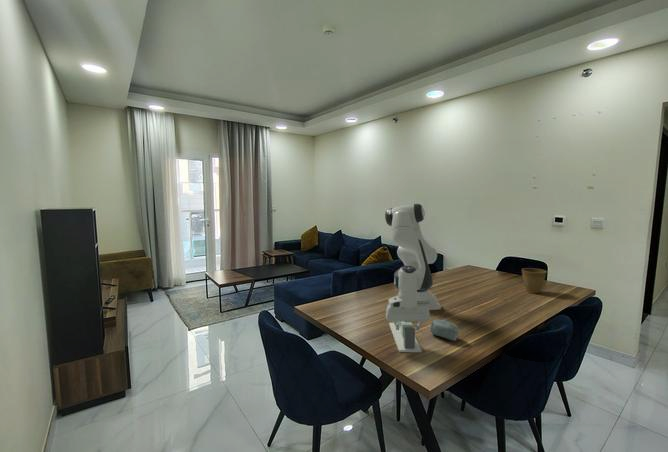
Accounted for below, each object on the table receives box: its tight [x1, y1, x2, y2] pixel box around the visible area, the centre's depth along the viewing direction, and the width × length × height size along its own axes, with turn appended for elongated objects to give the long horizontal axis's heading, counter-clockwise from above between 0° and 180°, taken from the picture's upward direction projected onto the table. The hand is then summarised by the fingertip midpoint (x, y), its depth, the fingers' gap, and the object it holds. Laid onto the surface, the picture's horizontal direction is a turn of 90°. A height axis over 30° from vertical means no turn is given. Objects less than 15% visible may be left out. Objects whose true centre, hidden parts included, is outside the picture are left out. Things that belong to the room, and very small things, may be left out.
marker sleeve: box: [401, 321, 415, 338], centre depth 148 cm, size 5×5×5 cm
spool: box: [430, 319, 460, 342], centre depth 155 cm, size 14×10×10 cm
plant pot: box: [521, 267, 547, 294], centre depth 224 cm, size 15×15×16 cm
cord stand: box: [388, 321, 422, 353], centre depth 156 cm, size 10×30×10 cm, turn 179°
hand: (407, 329), depth 148 cm, fingers open, 8 cm apart
